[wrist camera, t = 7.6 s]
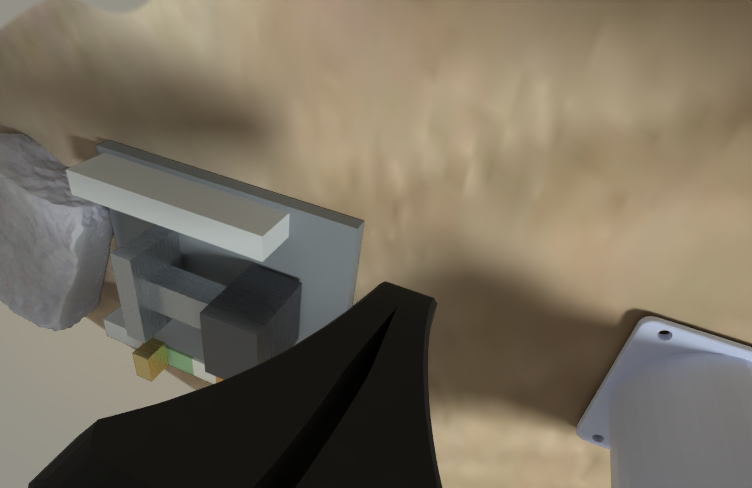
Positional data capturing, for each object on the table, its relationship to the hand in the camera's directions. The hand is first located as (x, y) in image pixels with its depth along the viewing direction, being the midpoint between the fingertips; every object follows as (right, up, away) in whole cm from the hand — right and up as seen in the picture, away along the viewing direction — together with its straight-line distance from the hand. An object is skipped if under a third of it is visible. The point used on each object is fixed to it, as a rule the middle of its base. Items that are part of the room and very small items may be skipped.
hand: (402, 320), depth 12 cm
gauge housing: (-9, 0, +16) cm, 18 cm away
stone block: (-22, +4, +20) cm, 30 cm away
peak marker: (-13, -4, +16) cm, 21 cm away
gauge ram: (-9, -1, +16) cm, 18 cm away
